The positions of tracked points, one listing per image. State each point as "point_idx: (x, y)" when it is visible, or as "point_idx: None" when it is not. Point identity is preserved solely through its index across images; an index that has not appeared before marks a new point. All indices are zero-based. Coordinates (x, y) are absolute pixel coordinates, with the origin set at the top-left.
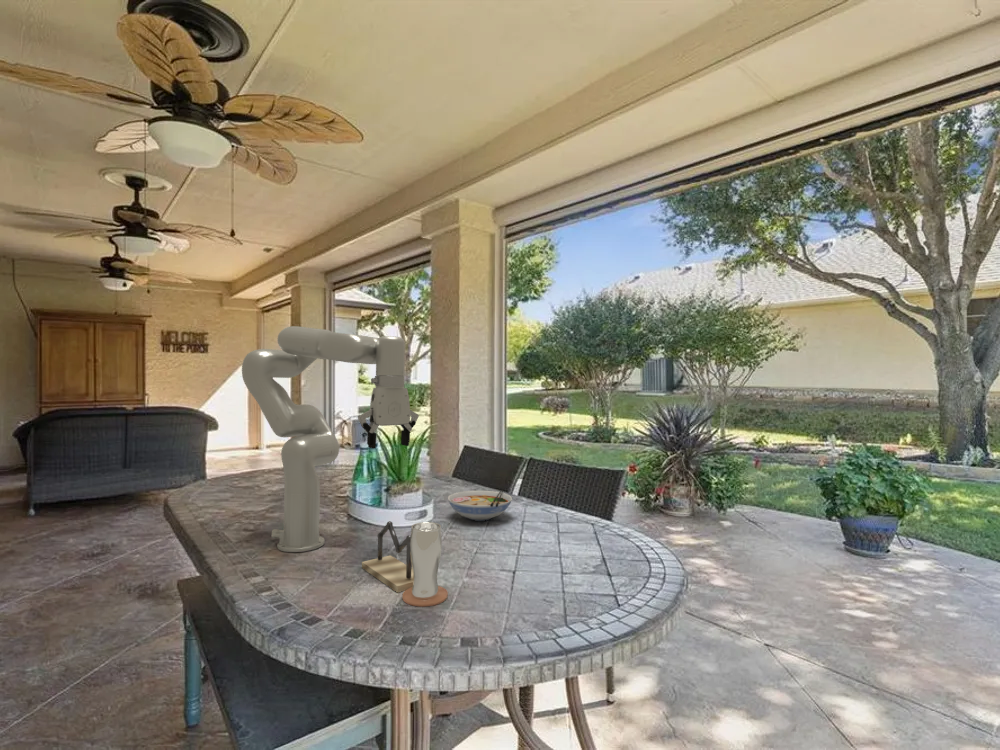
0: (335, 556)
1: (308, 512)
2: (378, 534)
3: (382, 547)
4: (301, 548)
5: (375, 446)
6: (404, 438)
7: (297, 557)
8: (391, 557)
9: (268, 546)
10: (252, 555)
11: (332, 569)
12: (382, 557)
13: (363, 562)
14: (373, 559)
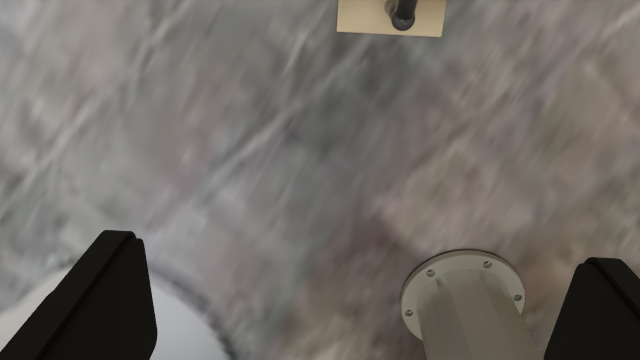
0: (439, 171)
1: (498, 340)
2: (414, 16)
3: (390, 6)
4: (492, 259)
5: (594, 270)
6: (111, 341)
7: (517, 226)
8: (344, 9)
9: None
10: None
11: (506, 81)
12: (368, 30)
13: (440, 28)
14: (401, 32)
